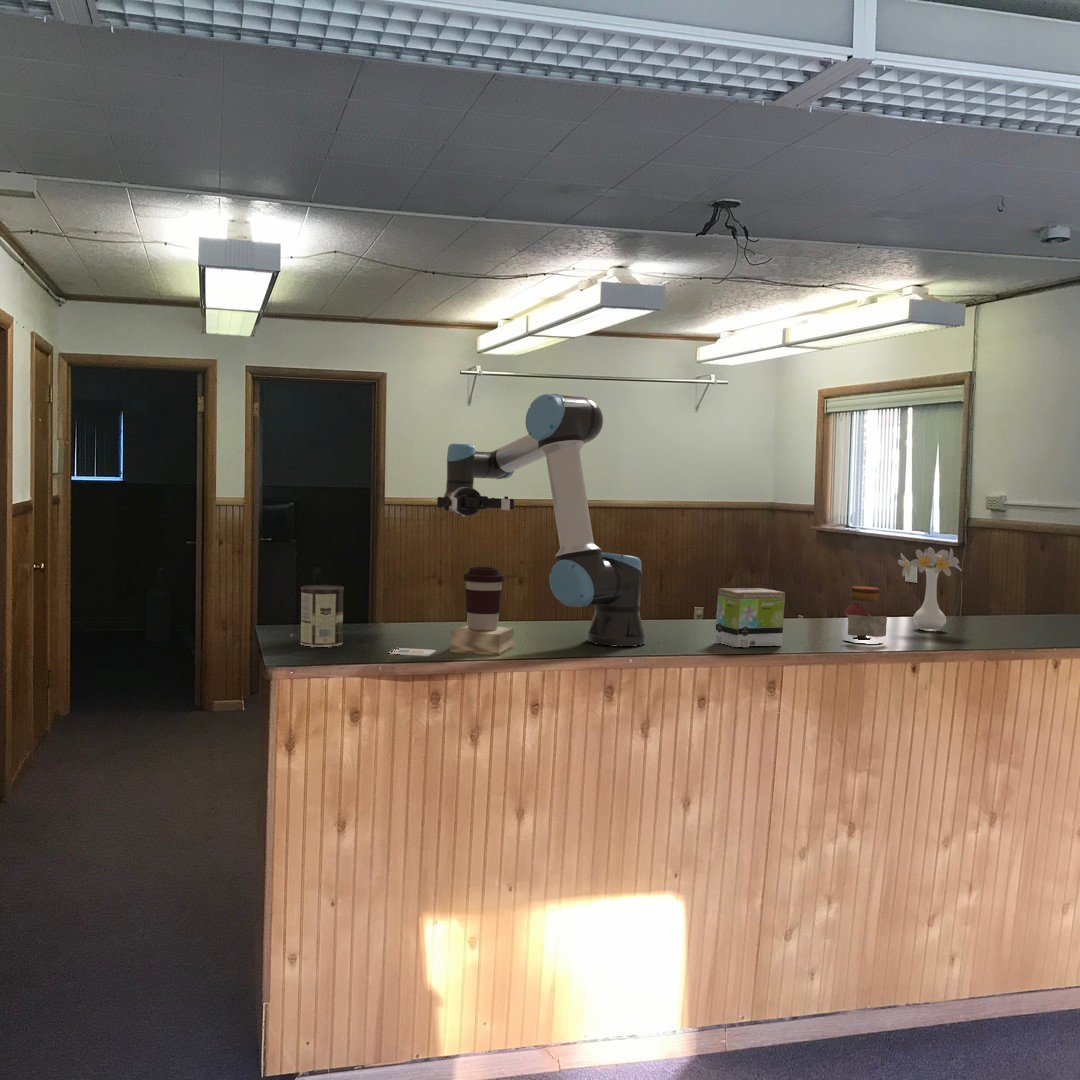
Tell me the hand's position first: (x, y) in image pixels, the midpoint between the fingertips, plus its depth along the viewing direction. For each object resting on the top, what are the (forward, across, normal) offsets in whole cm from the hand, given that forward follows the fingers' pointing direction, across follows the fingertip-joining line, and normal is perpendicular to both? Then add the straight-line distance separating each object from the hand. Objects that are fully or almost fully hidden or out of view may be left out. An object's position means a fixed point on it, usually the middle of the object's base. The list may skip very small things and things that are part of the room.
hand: (482, 504), depth 272 cm
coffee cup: (+12, +1, -30) cm, 32 cm away
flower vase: (-13, -140, -35) cm, 145 cm away
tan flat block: (+12, +1, -35) cm, 37 cm away
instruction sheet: (+15, +19, -35) cm, 42 cm away
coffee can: (+2, +39, -35) cm, 53 cm away
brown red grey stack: (+6, -106, -35) cm, 112 cm away
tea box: (+9, -71, -35) cm, 80 cm away
